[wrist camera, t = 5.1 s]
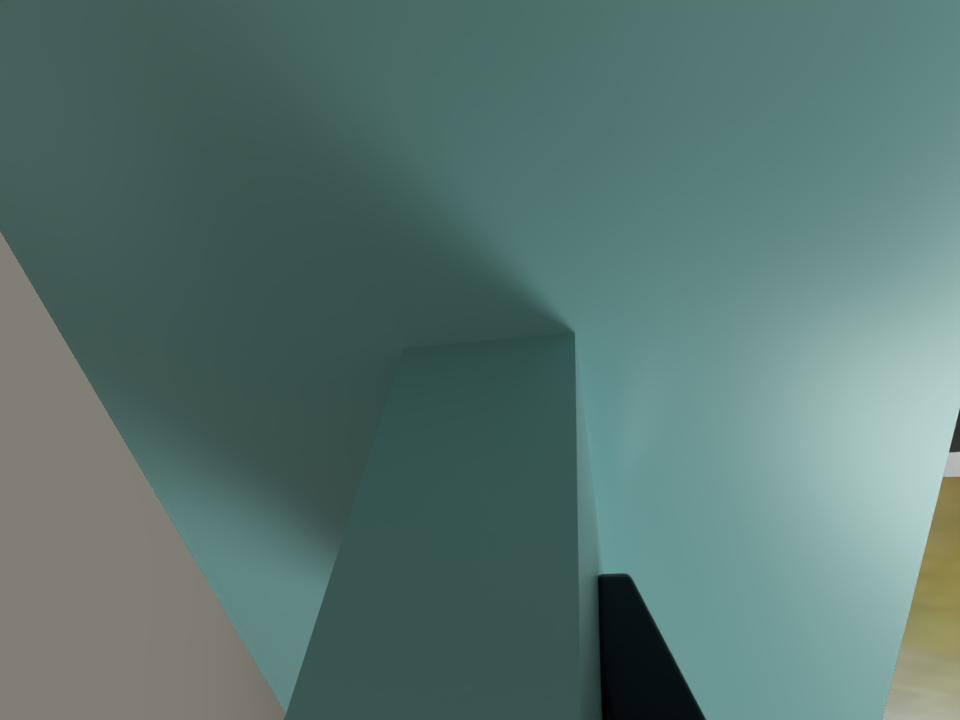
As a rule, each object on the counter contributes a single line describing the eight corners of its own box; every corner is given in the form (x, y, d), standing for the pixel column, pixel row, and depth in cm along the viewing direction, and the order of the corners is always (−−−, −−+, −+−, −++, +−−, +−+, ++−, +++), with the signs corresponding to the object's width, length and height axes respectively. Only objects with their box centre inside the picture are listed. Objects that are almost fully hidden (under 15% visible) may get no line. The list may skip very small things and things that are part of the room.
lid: (829, 666, 15) (981, 1146, 10) (349, 671, 17) (243, 1075, 11) (970, -207, 7) (2480, -377, 1) (24, -14, 9) (-874, 230, 3)
